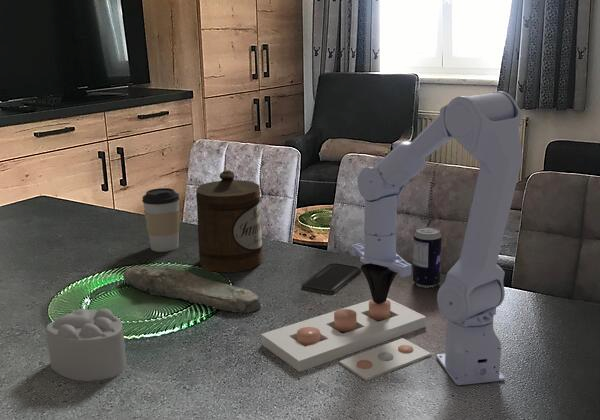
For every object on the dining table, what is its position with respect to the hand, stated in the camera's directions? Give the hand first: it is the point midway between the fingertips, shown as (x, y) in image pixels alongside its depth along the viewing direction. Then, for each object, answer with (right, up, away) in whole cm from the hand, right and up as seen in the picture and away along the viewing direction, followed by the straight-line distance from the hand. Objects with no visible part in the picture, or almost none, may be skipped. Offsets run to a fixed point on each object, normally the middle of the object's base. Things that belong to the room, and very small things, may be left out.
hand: (379, 301), depth 126 cm
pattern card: (0, -8, -12) cm, 14 cm away
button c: (-13, -7, -7) cm, 16 cm away
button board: (-7, -6, -3) cm, 9 cm away
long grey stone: (-38, -1, +17) cm, 42 cm away
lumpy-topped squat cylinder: (-50, -9, -11) cm, 52 cm away
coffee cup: (-49, +7, +46) cm, 68 cm away
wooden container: (-31, +4, +35) cm, 47 cm away
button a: (0, -3, +1) cm, 3 cm away
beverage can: (+12, +1, +19) cm, 23 cm away
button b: (-7, -4, -4) cm, 8 cm away
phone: (-8, +1, +23) cm, 25 cm away
